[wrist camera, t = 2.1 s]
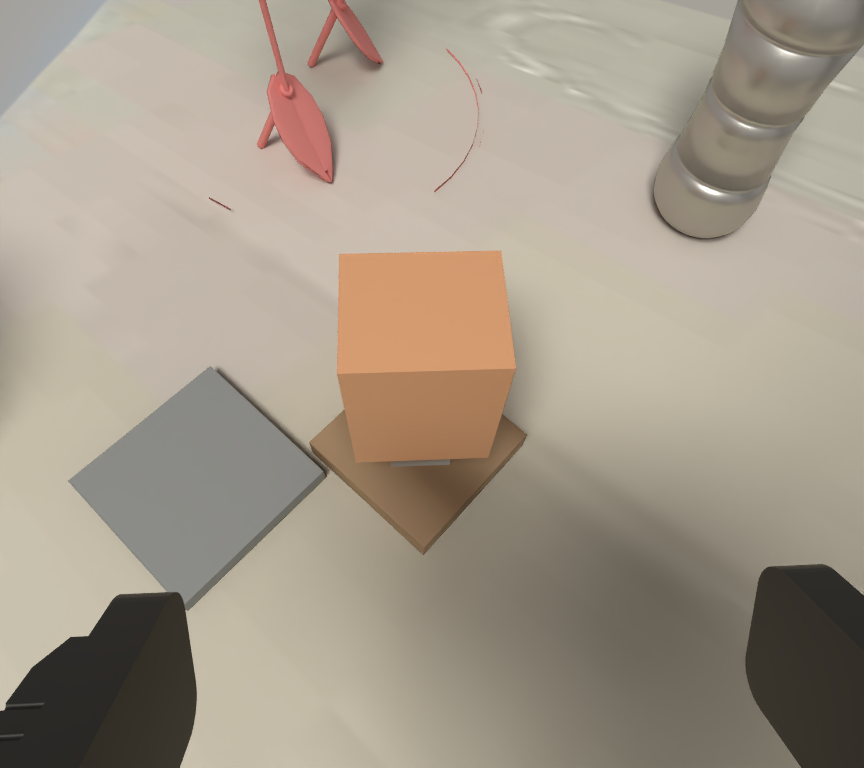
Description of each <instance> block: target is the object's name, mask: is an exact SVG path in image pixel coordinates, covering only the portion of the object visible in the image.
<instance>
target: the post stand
mask: <svg viewBox="0 0 864 768" xmlns="http://www.w3.org/2000/svg"><path fill="white" fill-rule="evenodd" d="M526 435H527V434H526V433H524V432H523V431H522V430H521V429H519V428H518V427H517V426H516V425H514V424H513V423H512V422H511V421H509V420H508V419H507V418H506V417H504V416H503V415H501V418H500V422H499V425H498V428H497V431H496V435H495V438H494V441H493V444H492V447H491V451H490V454H489V457H488V458H467V459H441V460H414V461H388V462H362V463H356V461H355V456H354V451H353V446H352V442H351V437H350V432H349V427H348V423H347V418H346V413H345V410H344V411H343V412H341V413H340V414H339V415H338V416H337V417H336V418H335V419H334V420H333V421H332V422H331V423H330V424H329V425H327V426H326V427H325V428H324V429H323V430H322V431H321V432H320V433H319V434H318V435H317V436H316V437H314V438H313V439H312V440H311V441H310V442H309V443H310V446H311V449H312V451H313V453H314V454H315V455H316V456H317V457H318V458H319V459H320V460H321V461H322V462H323V463H325V464H326V465H327V466H328V467H329V468H330V469H331V470H332V471H333V472H334V473H335V474H336V475H338V476H339V477H340V478H341V479H342V480H343V481H344V482H345V483H346V484H347V485H348V486H349V487H351V488H352V489H353V490H354V491H355V492H356V493H357V494H358V495H359V496H360V497H361V498H362V499H364V500H365V501H366V502H367V503H368V504H369V505H370V506H371V507H372V508H373V509H374V510H375V511H377V512H378V513H379V514H380V515H381V516H382V517H383V518H384V519H385V520H386V521H387V522H388V523H390V524H391V525H392V526H393V527H394V528H395V529H396V530H397V531H398V532H399V533H400V534H401V535H403V536H404V537H405V538H406V539H407V540H408V541H409V542H410V543H411V544H412V545H413V546H414V547H416V548H417V549H418V550H419V551H420V552H421V553H422V554H423V555H424V554H425V553H426V551H427V550H428V549H429V548H430V547H431V546H432V545H433V544H434V543H435V541H436V540H437V539H438V538H439V537H440V536H441V535H442V534H443V533H444V531H445V530H446V529H447V528H448V527H449V526H450V525H451V524H452V523H453V521H454V520H455V519H456V518H457V517H458V516H459V515H460V514H461V513H462V512H463V510H464V509H465V508H466V507H467V506H468V505H469V504H470V503H471V502H472V500H473V499H474V498H475V497H476V496H477V495H478V494H479V493H480V492H481V490H482V489H483V488H484V487H485V486H486V485H487V484H488V483H489V482H490V480H491V479H492V478H493V477H494V476H495V475H496V474H497V473H498V472H499V470H500V469H501V468H502V467H503V466H504V465H505V464H506V463H507V462H508V461H509V459H510V458H511V457H512V456H513V455H514V454H515V453H516V452H517V451H518V449H519V448H520V447H521V446H522V445H523V442H524V440H525V438H526Z"/></svg>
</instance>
